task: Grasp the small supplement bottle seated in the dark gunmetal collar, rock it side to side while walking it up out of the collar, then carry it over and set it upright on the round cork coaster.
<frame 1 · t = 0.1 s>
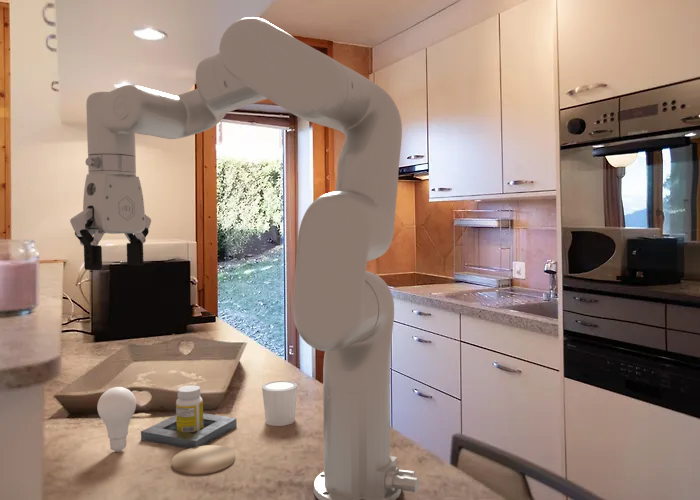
hand: (115, 267, 99), 31 cm above the worktop, fingers open, 9 cm apart
white cup: (280, 421, 112), on the worktop
collar: (190, 433, 105), on the worktop
lightbulb: (118, 452, 97), on the worktop
coaster: (203, 460, 93), on the worktop
supplement bottle: (190, 434, 105), resting in collar
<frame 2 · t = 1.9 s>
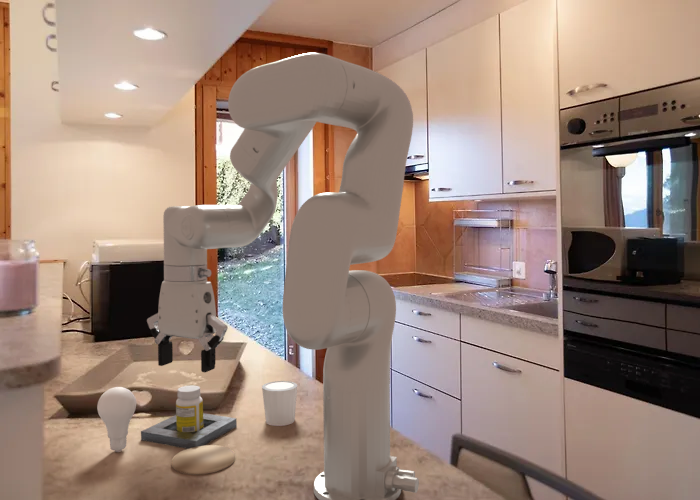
hand: (186, 367, 105), 12 cm above the worktop, fingers open, 9 cm apart
nothing on the worktop moved.
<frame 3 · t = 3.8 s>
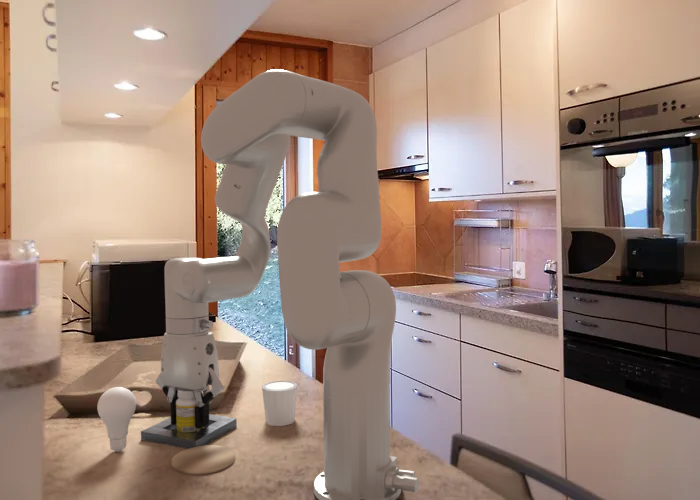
hand: (190, 423, 105), 2 cm above the worktop, fingers closed on supplement bottle, 4 cm apart
supplement bottle: (190, 434, 105), resting in collar, touching gripper
everything else where it was.
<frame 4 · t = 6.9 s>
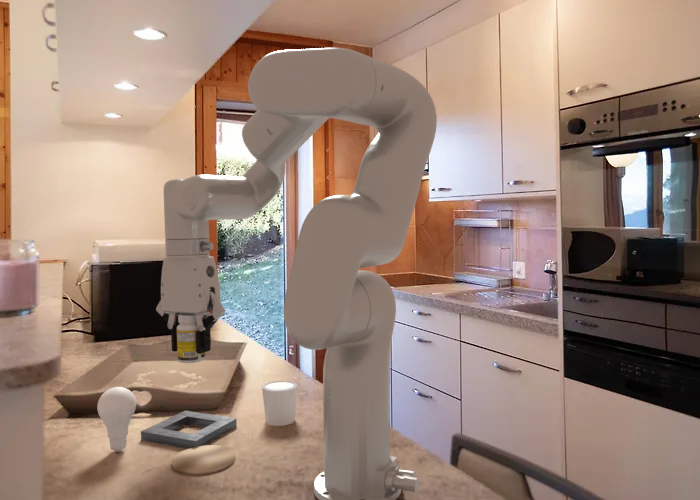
hand: (191, 349, 103), 16 cm above the worktop, fingers closed on supplement bottle, 4 cm apart
supplement bottle: (191, 361, 103), point 14 cm above the worktop, touching gripper
everything else where it was.
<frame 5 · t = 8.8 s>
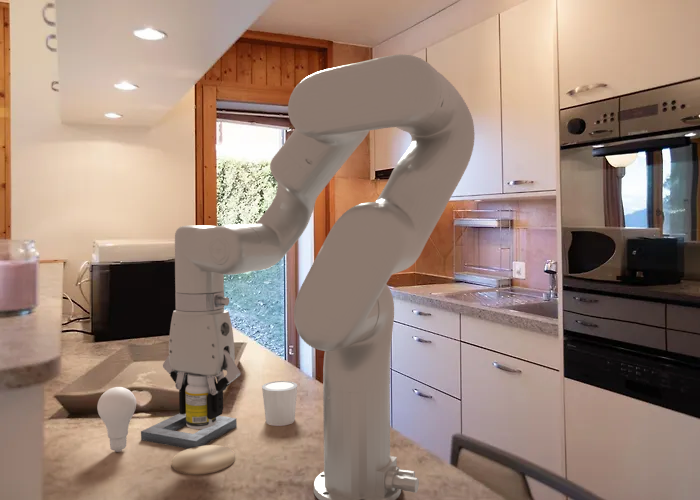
hand: (201, 413, 93), 8 cm above the worktop, fingers closed on supplement bottle, 4 cm apart
supplement bottle: (201, 425, 93), point 6 cm above the worktop, touching gripper
everything else where it was.
when the fingers open (3 cm above the worktop, at t = 10.3 s): supplement bottle stays where it is, resting on coaster.
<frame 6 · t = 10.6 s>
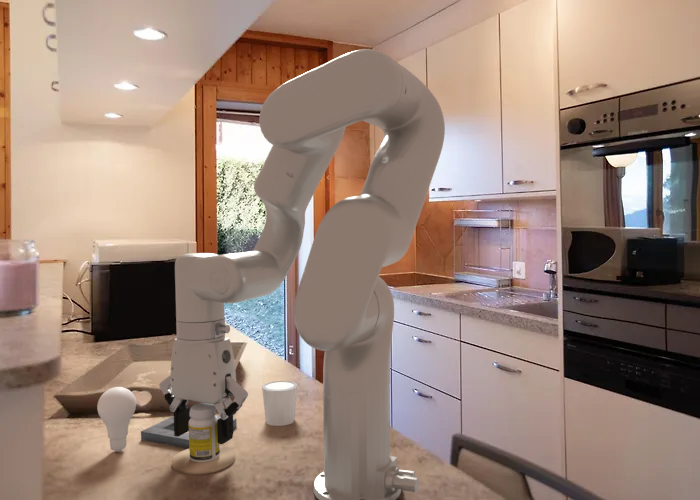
hand: (203, 436, 93), 4 cm above the worktop, fingers open, 8 cm apart
supplement bottle: (204, 458, 93), resting on coaster
everything else where it was.
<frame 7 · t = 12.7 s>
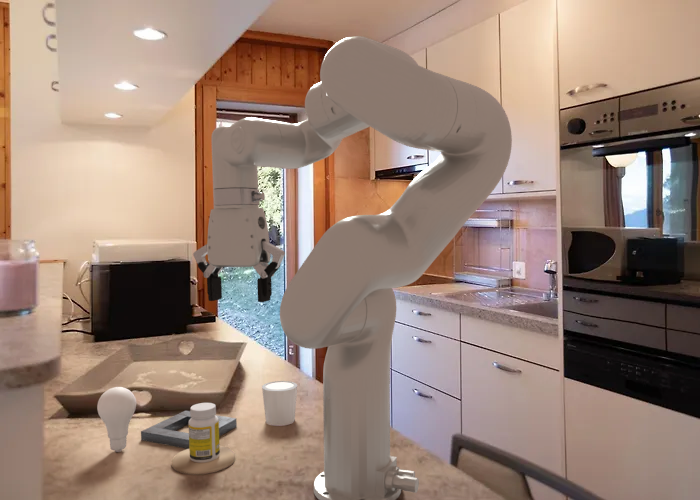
hand: (239, 300, 98), 25 cm above the worktop, fingers open, 9 cm apart
nothing on the worktop moved.
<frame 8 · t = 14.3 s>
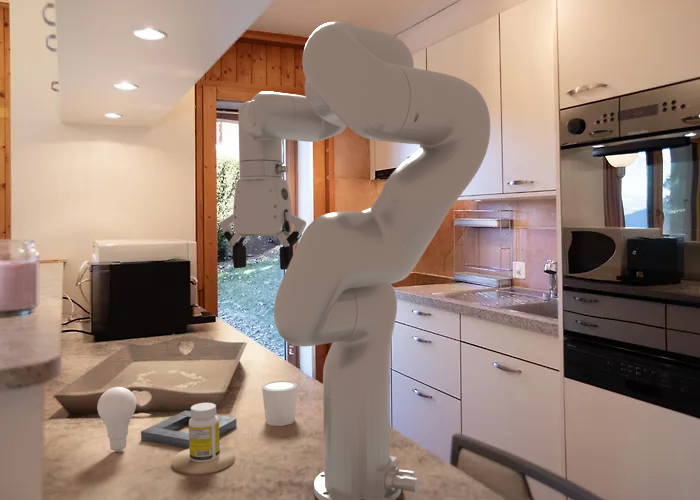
hand: (262, 268, 103), 30 cm above the worktop, fingers open, 9 cm apart
nothing on the worktop moved.
at the end: supplement bottle inside the target area on the coaster (0.2 cm from its centre), point 0.4 cm above the coaster's base; supplement bottle tilted 0°; the gripper is holding nothing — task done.
